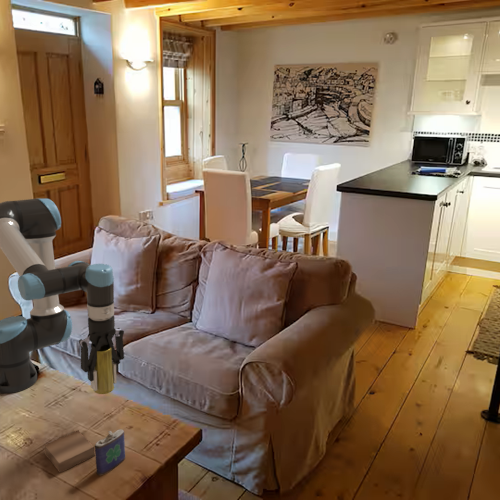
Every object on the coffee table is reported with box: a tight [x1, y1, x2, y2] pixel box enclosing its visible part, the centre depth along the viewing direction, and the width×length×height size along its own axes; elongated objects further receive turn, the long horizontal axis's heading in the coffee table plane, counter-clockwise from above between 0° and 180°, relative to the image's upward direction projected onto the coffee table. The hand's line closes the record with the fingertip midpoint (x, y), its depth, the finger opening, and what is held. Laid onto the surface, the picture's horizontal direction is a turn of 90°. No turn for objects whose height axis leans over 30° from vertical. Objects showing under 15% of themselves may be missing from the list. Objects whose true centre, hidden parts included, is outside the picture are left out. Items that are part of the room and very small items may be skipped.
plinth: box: [43, 430, 96, 473], centre depth 134 cm, size 10×10×3 cm
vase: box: [93, 345, 115, 395], centre depth 145 cm, size 6×6×14 cm
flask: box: [94, 429, 126, 476], centre depth 130 cm, size 9×3×11 cm, turn 144°
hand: (103, 384), depth 147 cm, fingers closed on vase, 6 cm apart
